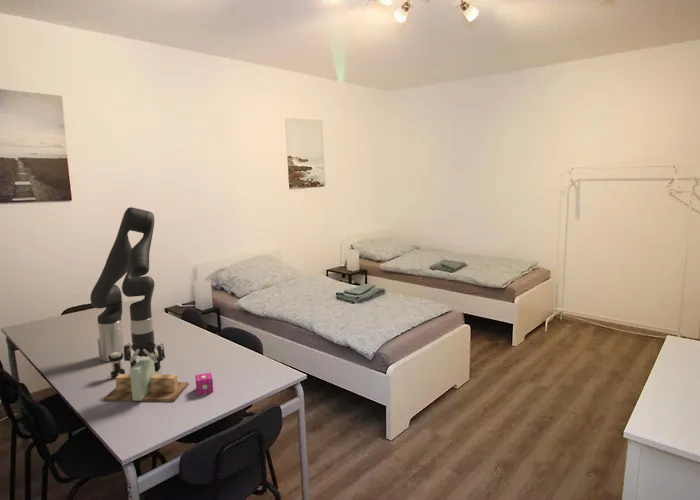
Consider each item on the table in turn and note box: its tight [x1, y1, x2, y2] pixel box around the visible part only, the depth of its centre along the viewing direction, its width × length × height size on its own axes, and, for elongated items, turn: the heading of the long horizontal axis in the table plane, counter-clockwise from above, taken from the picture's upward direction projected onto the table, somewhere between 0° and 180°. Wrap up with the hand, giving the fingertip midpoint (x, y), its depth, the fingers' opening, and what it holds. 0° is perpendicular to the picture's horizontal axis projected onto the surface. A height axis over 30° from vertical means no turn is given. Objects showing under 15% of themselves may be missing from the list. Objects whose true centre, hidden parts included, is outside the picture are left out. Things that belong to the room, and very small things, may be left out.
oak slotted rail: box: [103, 373, 189, 402], centre depth 165 cm, size 26×13×6 cm, turn 88°
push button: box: [106, 352, 126, 380], centre depth 177 cm, size 7×5×10 cm
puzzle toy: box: [195, 372, 214, 396], centre depth 166 cm, size 6×6×6 cm
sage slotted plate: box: [129, 350, 162, 402], centre depth 164 cm, size 16×3×12 cm, turn 178°
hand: (145, 370), depth 164 cm, fingers open, 8 cm apart
